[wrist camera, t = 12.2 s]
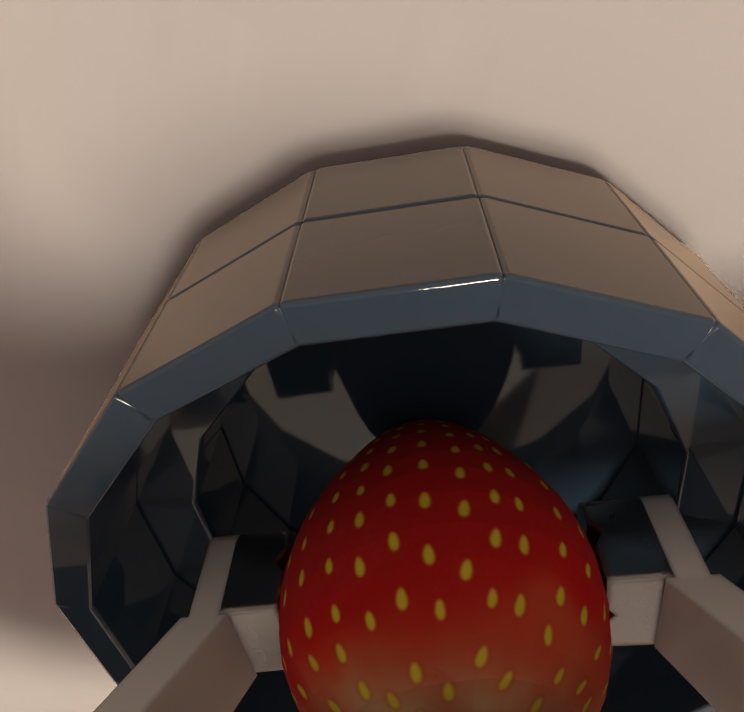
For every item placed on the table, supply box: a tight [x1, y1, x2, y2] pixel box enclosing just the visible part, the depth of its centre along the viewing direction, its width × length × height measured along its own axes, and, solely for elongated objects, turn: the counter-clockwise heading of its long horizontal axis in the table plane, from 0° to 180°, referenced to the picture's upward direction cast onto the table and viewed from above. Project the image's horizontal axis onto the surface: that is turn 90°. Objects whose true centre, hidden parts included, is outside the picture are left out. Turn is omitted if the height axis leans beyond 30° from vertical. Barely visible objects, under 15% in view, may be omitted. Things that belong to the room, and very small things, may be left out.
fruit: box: [279, 419, 613, 712], centre depth 10 cm, size 5×5×8 cm
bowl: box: [46, 146, 744, 712], centre depth 12 cm, size 12×12×5 cm
